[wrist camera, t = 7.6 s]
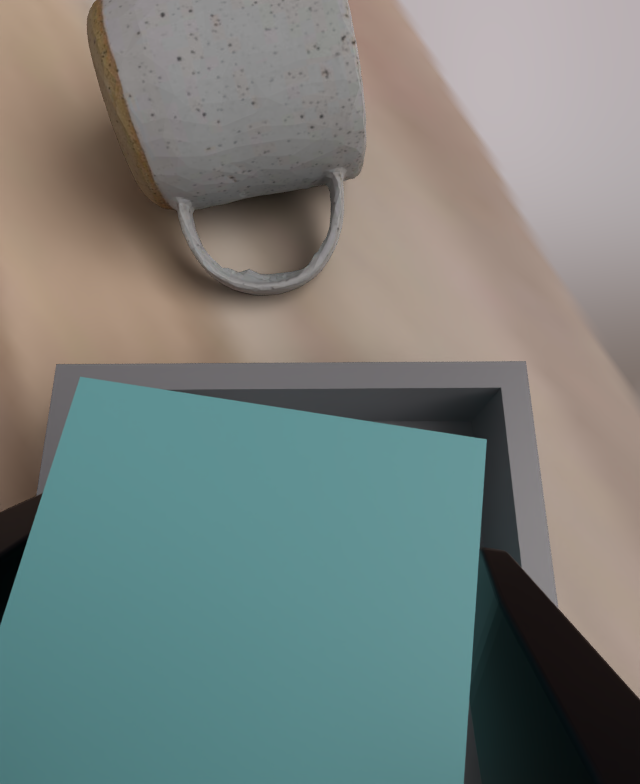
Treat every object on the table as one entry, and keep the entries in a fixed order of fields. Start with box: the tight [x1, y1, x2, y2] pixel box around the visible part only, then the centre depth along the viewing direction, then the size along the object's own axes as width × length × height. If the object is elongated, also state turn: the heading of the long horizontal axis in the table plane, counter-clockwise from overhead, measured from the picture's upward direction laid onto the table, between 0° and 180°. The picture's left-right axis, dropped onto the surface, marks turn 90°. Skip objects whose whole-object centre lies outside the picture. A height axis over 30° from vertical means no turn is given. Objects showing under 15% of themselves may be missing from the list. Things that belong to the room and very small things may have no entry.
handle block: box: [0, 377, 487, 784], centre depth 12 cm, size 4×4×13 cm
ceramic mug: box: [87, 0, 366, 295], centre depth 20 cm, size 11×8×8 cm
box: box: [36, 361, 558, 784], centre depth 17 cm, size 14×14×4 cm
